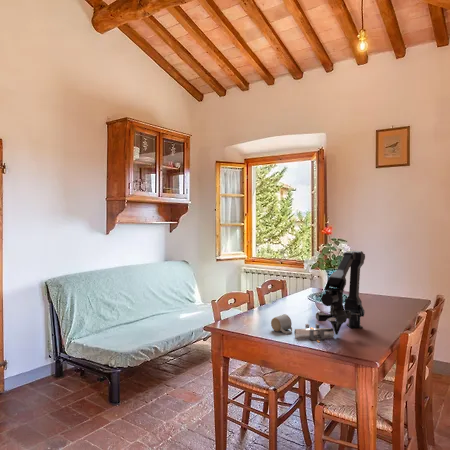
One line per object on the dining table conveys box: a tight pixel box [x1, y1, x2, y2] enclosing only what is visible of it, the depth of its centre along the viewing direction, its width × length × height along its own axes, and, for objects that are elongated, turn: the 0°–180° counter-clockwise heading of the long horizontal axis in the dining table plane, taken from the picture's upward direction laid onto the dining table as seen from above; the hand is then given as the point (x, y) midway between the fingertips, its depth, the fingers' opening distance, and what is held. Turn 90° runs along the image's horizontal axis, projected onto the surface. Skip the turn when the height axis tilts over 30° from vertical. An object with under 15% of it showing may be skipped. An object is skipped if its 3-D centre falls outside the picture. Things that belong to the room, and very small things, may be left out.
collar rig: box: [304, 323, 325, 343], centre depth 178 cm, size 15×6×5 cm, turn 2°
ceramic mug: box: [270, 313, 293, 335], centre depth 187 cm, size 11×8×8 cm
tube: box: [293, 327, 335, 340], centre depth 178 cm, size 18×4×5 cm, turn 94°
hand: (336, 334), depth 178 cm, fingers closed
